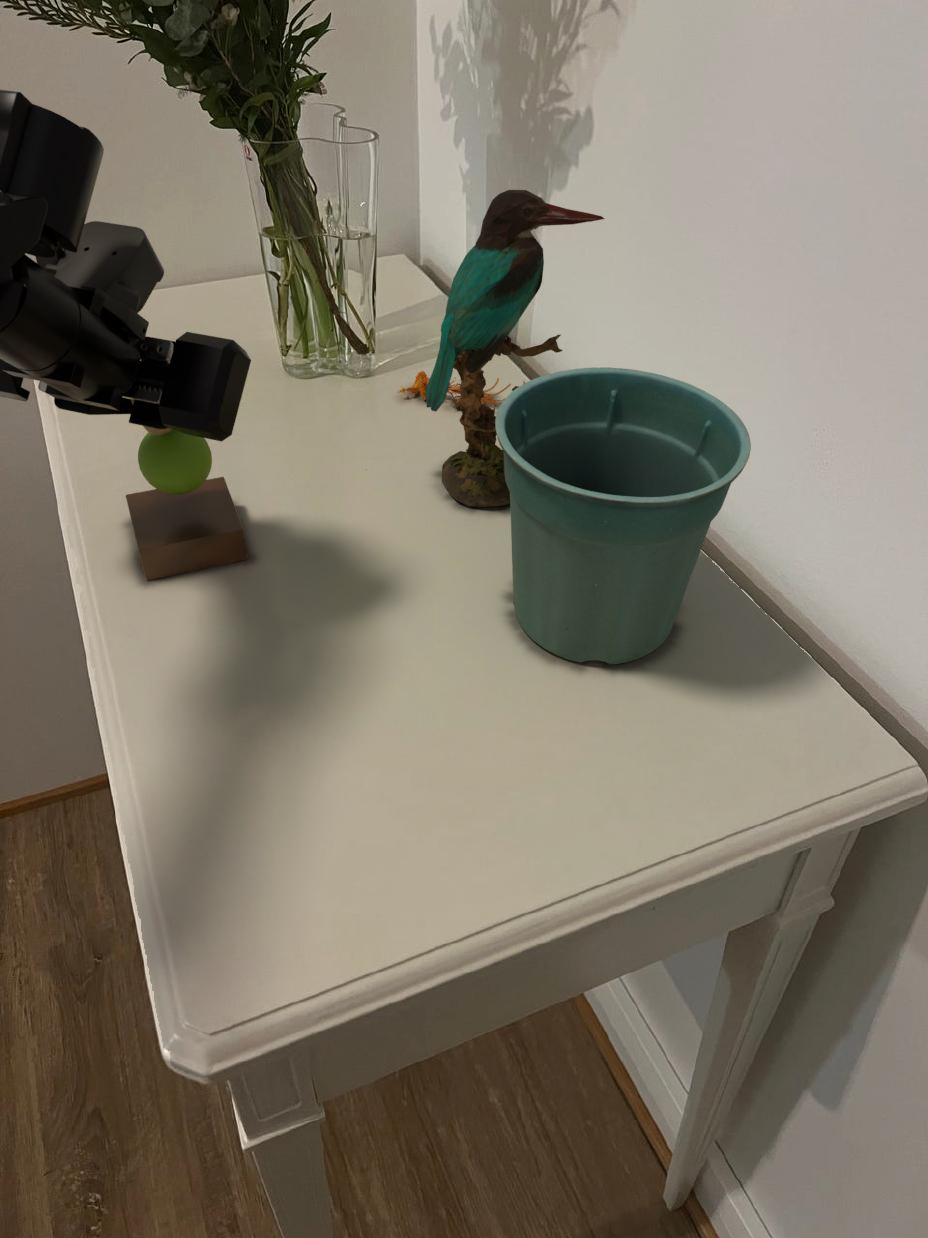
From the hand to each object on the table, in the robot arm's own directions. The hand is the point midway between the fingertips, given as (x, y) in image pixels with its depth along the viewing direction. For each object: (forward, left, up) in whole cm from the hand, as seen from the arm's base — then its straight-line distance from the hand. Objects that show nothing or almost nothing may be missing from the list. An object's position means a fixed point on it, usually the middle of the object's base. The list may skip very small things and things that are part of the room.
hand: (171, 408), depth 70 cm
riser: (-1, -1, -12) cm, 12 cm away
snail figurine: (-1, -1, -7) cm, 7 cm away
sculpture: (+26, -1, -12) cm, 29 cm away
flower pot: (+26, -20, -12) cm, 35 cm away
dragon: (+28, +14, -12) cm, 33 cm away
